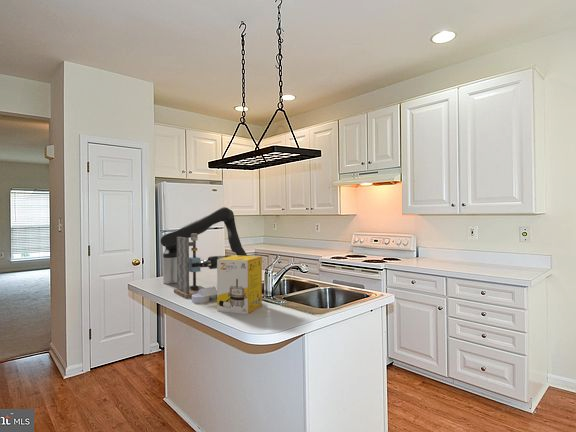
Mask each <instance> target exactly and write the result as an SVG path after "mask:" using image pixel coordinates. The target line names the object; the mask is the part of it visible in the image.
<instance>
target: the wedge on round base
mask: <svg viewBox="0 0 576 432" xmlns="http://www.w3.org/2000/svg"><path fill="white" fill-rule="evenodd" d="M210 296H217V287H216V286H211V287H210V286H209V287H204V288H202V289H200V290H199V291H198V292H197V294H193V295H192V298H191V303H192V304H205V303H208V302H210Z"/></svg>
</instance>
